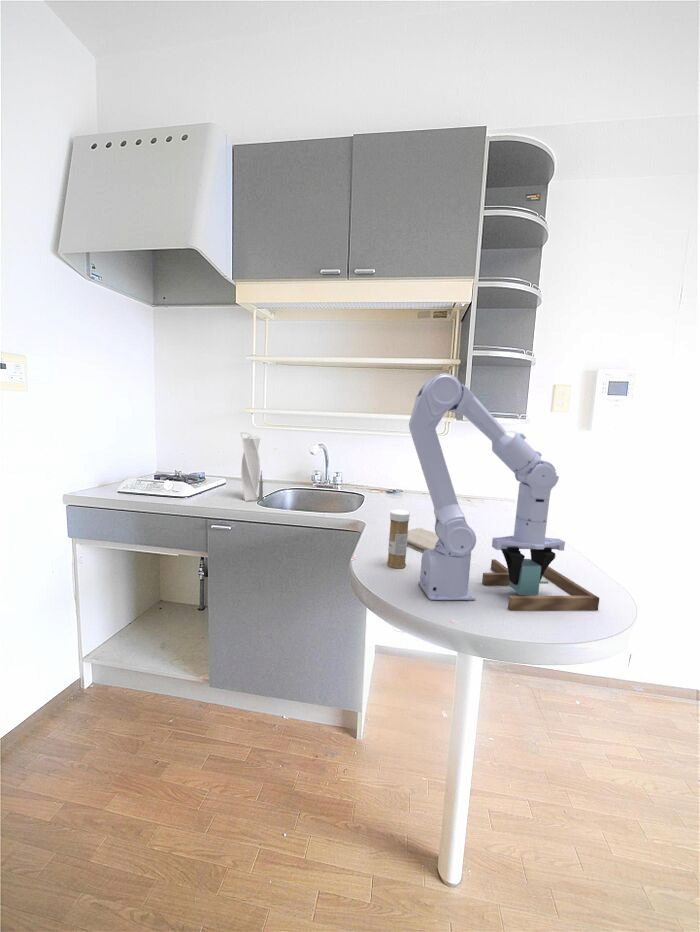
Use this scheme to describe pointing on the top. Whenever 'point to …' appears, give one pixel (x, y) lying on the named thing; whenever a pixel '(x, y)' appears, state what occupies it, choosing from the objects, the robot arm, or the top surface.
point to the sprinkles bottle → (398, 538)
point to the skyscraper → (251, 469)
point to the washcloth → (421, 539)
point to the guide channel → (576, 601)
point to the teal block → (528, 578)
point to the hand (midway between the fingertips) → (524, 582)
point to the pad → (542, 580)
